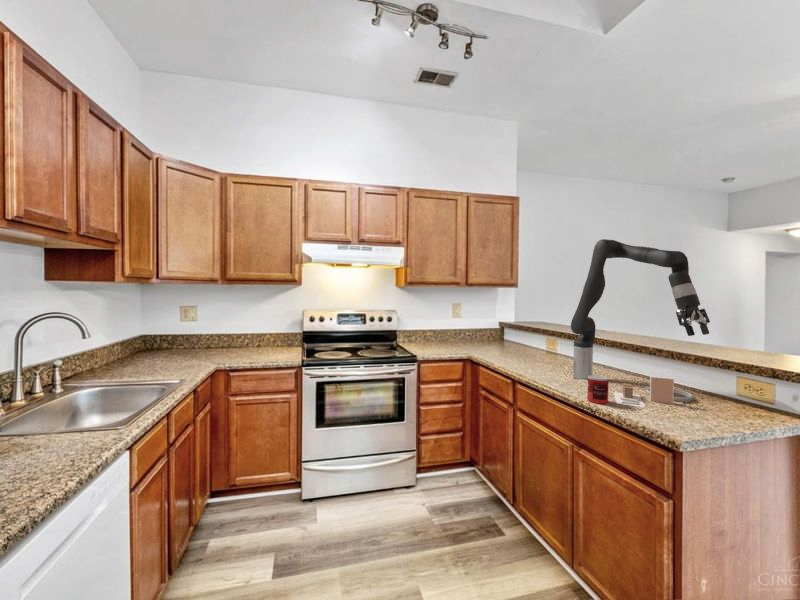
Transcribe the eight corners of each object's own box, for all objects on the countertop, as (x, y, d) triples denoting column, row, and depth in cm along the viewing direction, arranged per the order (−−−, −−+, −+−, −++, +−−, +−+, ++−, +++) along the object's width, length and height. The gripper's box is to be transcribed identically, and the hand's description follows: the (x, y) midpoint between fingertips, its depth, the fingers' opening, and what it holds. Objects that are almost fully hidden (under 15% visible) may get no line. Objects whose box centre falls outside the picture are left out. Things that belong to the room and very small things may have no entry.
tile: (650, 402, 155) (650, 376, 155) (649, 401, 157) (650, 376, 156) (673, 405, 152) (673, 379, 151) (672, 404, 153) (673, 378, 153)
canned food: (596, 398, 160) (596, 374, 160) (612, 404, 153) (613, 378, 153) (583, 400, 158) (583, 375, 157) (599, 406, 150) (599, 380, 150)
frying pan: (655, 381, 183) (704, 396, 155) (655, 387, 183) (703, 403, 155) (622, 381, 182) (664, 397, 154) (622, 387, 182) (664, 404, 154)
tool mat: (616, 404, 152) (616, 403, 152) (613, 393, 169) (613, 392, 169) (645, 408, 148) (645, 407, 148) (639, 395, 164) (639, 394, 164)
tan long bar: (618, 393, 166) (619, 382, 166) (634, 395, 164) (634, 384, 163) (621, 402, 153) (622, 391, 153) (638, 405, 150) (639, 393, 150)
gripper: (688, 298, 155) (701, 335, 150) (664, 299, 150) (677, 337, 146) (706, 293, 148) (721, 332, 144) (682, 293, 144) (696, 334, 139)
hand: (698, 334), depth 145 cm, fingers open, 8 cm apart
